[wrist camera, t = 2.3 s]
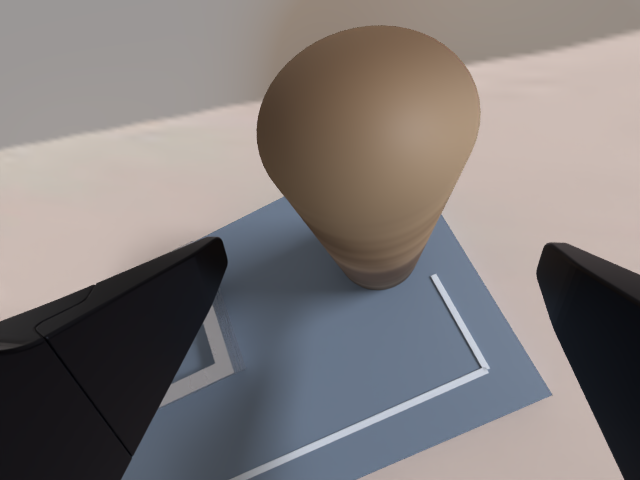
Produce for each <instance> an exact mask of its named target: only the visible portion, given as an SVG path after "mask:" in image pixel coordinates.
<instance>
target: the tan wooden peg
mask: <svg viewBox="0 0 640 480" xmlns="http://www.w3.org/2000/svg"><path fill="white" fill-rule="evenodd" d="M480 112H481V111H480V101H479V96H478V92H477V88H476V85H475V83H474V80H473V78H472V76H471V74H470V72H469V71H468V69H467V68H466V66H465V65H464V63H463V62H462V61H461V60H460V59H459V58H458V56H457V55H456V54H455V53H453V52H452V51H451V50H450V49H449V48H447V47H446V46H445V45H444V44H442V43H440V42H439V41H437V40H436V39H434V38H432V37H430V36H428V35H425V34H423V33H420V32H417V31H414V30H411V29H407V28H401V27H396V26H382V25H381V26H365V27H357V28H353V29H348V30H344V31H341V32H338V33H335V34H332V35H330V36H327V37H325V38H323V39H321V40H319V41H317V42H315V43H314V44H312V45H310V46H309V47H307V48H305V49H304V50H303V51H301V52H300V53H299V54H297V55H296V56H295V57H294V58H293V59H292V60H291V61H289V62H288V63H287V64H286V65H285V67H284V68H283V69H282V70H281V71H280V72H279V73H278V75H277V76H276V77H275V79H274V80H273V82H272V83H271V85H270V87H269V89H268V91H267V92H266V94H265V96H264V99H263V102H262V104H261V107H260V111H259V115H258V121H257V144H258V150H259V154H260V157H261V160H262V163H263V166H264V168H265V169H266V171H267V173H268V175H269V177H270V178H271V180H272V181H273V182H274V184H275V185H276V186H277V188H278V189H279V190H280V191H281V193H282V194H283V195H284V197H285V198H286V199H287V200H288V202H289V203H290V204H291V206H292V207H293V208H294V209H295V211H296V212H297V213H298V214H299V216H300V217H301V218H302V220H303V221H304V222H305V223H306V225H307V226H308V227H309V229H310V230H311V231H312V232H313V234H314V235H315V236H316V238H317V239H318V240H319V241H320V243H321V244H322V245H323V247H324V248H325V249H326V250H327V252H328V253H329V254H330V255H331V257H332V258H333V259H334V261H335V262H336V263H337V264H338V266H339V267H340V268H341V270H342V271H343V272H344V273H345V275H346V276H347V277H348V278H349V279H350V280H351V281H352V282H354V283H355V284H357V285H359V286H361V287H363V288H366V289H370V290H386V289H390V288H392V287H395V286H397V285H399V284H401V283H402V282H403V281H405V280H406V279H407V278H408V277H409V275H410V274H411V273H412V271H413V270H414V268H415V266H416V264H417V262H418V260H419V258H420V256H421V254H422V252H423V250H424V248H425V245H426V243H427V241H428V239H429V237H430V235H431V233H432V231H433V229H434V227H435V225H436V223H437V221H438V219H439V217H440V215H441V213H442V211H443V209H444V207H445V205H446V203H447V201H448V199H449V197H450V195H451V193H452V191H453V189H454V187H455V185H456V183H457V180H458V178H459V176H460V174H461V172H462V170H463V168H464V166H465V164H466V162H467V160H468V158H469V156H470V154H471V152H472V149H473V147H474V144H475V142H476V139H477V135H478V130H479V126H480Z"/></svg>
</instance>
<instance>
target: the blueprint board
mask: <svg viewBox="0 0 640 480" xmlns="http://www.w3.org/2000/svg"><path fill="white" fill-rule="evenodd" d="M209 236H210V237H220V238H221V239H222V241H223V244H224V247H225V251H226V255H227V258H228V266H227V269H226V271H225V274H224V276H223V279H222V282H221V284H220V287H219V288H220V291H221V294H222V297H223V300H224V303H225V306H226V309H227V312H228V315H229V318H230V321H231V324H232V327H233V330H234V333H235V336H236V339H237V342H238V345H239V348H240V351H241V354H242V357H243V360H244V363H245V366H246V369H245V370H243V371H241V372H238V373H236V374H234V375H232V376H230V377H228V378H226V379H223V380H221V381H219V382H217V383H215V384H213V385H211V386H208V387H206V388H204V389H202V390H200V391H198V392H196V393H193V394H191V395H189V396H187V397H185V398H183V399H181V400H178V401H176V402H174V403H172V404H170V405H168V406H166V407H163V408H161V409H159V410H157V412H156V414H155V416H154V418H153V419H152V421H151V423H150V425H149V427H148V429H147V431H146V433H145V435H144V437H143V439H142V440H141V442H140V444H139V446H138V448H137V450H136V452H135V454H134V456H132V460H131V462H130V464H129V466H128V468H127V469H126V471H125V473H124V475H123V477H122V479H121V480H356V479H358V478H361V477H363V476H365V475H368V474H370V473H372V472H375V471H377V470H379V469H381V468H384V467H386V466H388V465H391V464H393V463H395V462H398V461H400V460H402V459H405V458H407V457H409V456H412V455H414V454H416V453H419V452H421V451H423V450H426V449H428V448H430V447H433V446H435V445H437V444H440V443H442V442H444V441H447V440H449V439H451V438H454V437H456V436H458V435H461V434H463V433H465V432H468V431H470V430H472V429H474V428H477V427H479V426H481V425H484V424H486V423H488V422H491V421H493V420H495V419H498V418H500V417H502V416H505V415H507V414H509V413H512V412H514V411H516V410H519V409H521V408H523V407H526V406H528V405H530V404H533V403H535V402H537V401H540V400H542V399H544V398H547V397H549V396H551V395H552V393H551V392H550V390H549V389H548V387H547V385H546V384H545V382H544V380H543V379H542V377H541V376H540V374H539V372H538V371H537V369H536V367H535V366H534V364H533V363H532V361H531V359H530V358H529V356H528V354H527V353H526V351H525V350H524V348H523V346H522V345H521V343H520V341H519V340H518V338H517V337H516V335H515V333H514V332H513V330H512V328H511V327H510V325H509V324H508V322H507V320H506V319H505V317H504V315H503V314H502V312H501V311H500V309H499V307H498V306H497V304H496V302H495V301H494V299H493V298H492V296H491V294H490V293H489V291H488V289H487V288H486V286H485V285H484V283H483V281H482V280H481V278H480V276H479V275H478V273H477V271H476V270H475V268H474V267H473V265H472V263H471V262H470V260H469V258H468V257H467V255H466V254H465V252H464V250H463V249H462V247H461V245H460V244H459V242H458V241H457V239H456V237H455V236H454V234H453V232H452V231H451V229H450V228H449V226H448V224H447V223H446V221H445V219H444V218H443V216H442V215H440V217H439V219H438V221H437V223H436V225H435V227H434V229H433V231H432V233H431V235H430V237H429V239H428V241H427V243H426V245H425V248H424V250H423V252H422V254H421V256H420V258H419V260H418V262H417V264H416V266H415V268H414V270H413V271H412V273H411V274H410V275H409V277H408V278H407V279H406V280H405V281H403V282H402V283H401V284H399V285H397V286H395V287H392V288H390V289H386V290H370V289H366V288H363V287H361V286H359V285H357V284H355V283H354V282H352V281H351V280H350V279H349V278H348V277H347V276H346V275H345V273H344V272H343V271H342V270H341V268H340V267H339V266H338V264H337V263H336V262H335V261H334V259H333V258H332V257H331V255H330V254H329V253H328V252H327V250H326V249H325V248H324V247H323V245H322V244H321V243H320V241H319V240H318V239H317V238H316V236H315V235H314V234H313V232H312V231H311V230H310V229H309V227H308V226H307V225H306V223H305V222H304V221H303V220H302V218H301V217H300V216H299V214H298V213H297V212H296V211H295V209H294V208H293V207H292V206H291V204H290V203H289V202H288V200H287V199H286V198H285V197H282V198H280V199H278V200H276V201H274V202H272V203H270V204H268V205H266V206H264V207H262V208H260V209H258V210H256V211H254V212H252V213H250V214H248V215H246V216H244V217H242V218H240V219H239V220H237V221H235V222H233V223H231V224H229V225H227V226H225V227H223V228H221V229H219V230H217V231H215V232H213V233H211V234H209V235H207V236H205V237H209ZM205 237H203V238H205ZM203 238H201V239H203ZM199 240H200V239H199ZM197 241H198V240H197ZM195 242H196V241H195ZM213 364H215V361H214V357H213V354H212V351H211V347H210V344H209V341H208V338H207V334H206V331H205V328H204V324H202V326H201V328H200V330H199V332H198V334H197V335H196V337H195V339H194V341H193V343H192V345H191V347H190V349H189V351H188V353H187V355H186V356H185V358H184V360H183V362H182V364H181V366H180V368H179V370H178V372H177V374H176V376H175V377H174V379H173V381H172V383H171V384H173V383H175V382H177V381H179V380H181V379H183V378H185V377H188V376H190V375H192V374H194V373H196V372H198V371H200V370H202V369H205V368H207V367H209V366H211V365H213Z"/></svg>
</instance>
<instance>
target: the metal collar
mask: <svg viewBox="0 0 640 480" xmlns="http://www.w3.org/2000/svg"><path fill="white" fill-rule="evenodd" d="M191 243H193V241H191V242H189V243H187V244H185V245H183V246H181V247H184V246H186V245H188V244H191ZM181 247H179V248H181ZM179 248H177V249H179ZM177 249H175V250H177ZM173 251H174V250H173ZM203 324H204V328H205V331H206V334H207V338H208V341H209V344H210V347H211V351H212V354H213V357H214V361H215V364H213V365H211V366H209V367H207V368H205V369H202V370H200V371H198V372H196V373H194V374H192V375H190V376H188V377H185V378H183V379H181V380H179V381H177V382H175V383H173V384H171V385H170V387H169V389H168V391H167V393H166V395H165V397H164V398H163V400H162V402H161V404H160V406H159V408H158V410H159V409H161V408H163V407H166V406H168V405H170V404H172V403H174V402H176V401H178V400H181V399H183V398H185V397H187V396H189V395H191V394H193V393H196V392H198V391H200V390H202V389H204V388H206V387H208V386H211V385H213V384H215V383H217V382H219V381H221V380H223V379H226V378H228V377H230V376H232V375H234V374H236V373H238V372H241V371H243V370H245V369H246V366H245V363H244V360H243V357H242V354H241V351H240V348H239V345H238V342H237V339H236V336H235V333H234V330H233V327H232V324H231V321H230V318H229V315H228V312H227V309H226V306H225V303H224V300H223V297H222V294H221V291H220V288H219V289H218V292H217V294H216V297H215V299H214V302H213V304H212V306H211V308H210V311H209V313H208V314H207V316H206V318H205V320H204V322H203Z"/></svg>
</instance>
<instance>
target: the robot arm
mask: <svg viewBox="0 0 640 480" xmlns="http://www.w3.org/2000/svg"><path fill="white" fill-rule="evenodd" d="M227 266H228V258H227V255H226V251H225V247H224V244H223V241H222V239H221V238H220V237H210V236H209V237H205V238H203V239H200V240H198V241H196V242H193V243H191V244H188V245H186V246H184V247H181V248H179V249H177V250H174V251H172V252H170V253H167V254H165V255H162V256H160V257H158V258H155V259H153V260H151V261H148V262H146V263H144V264H141V265H139V266H136V267H134V268H132V269H129V270H127V271H125V272H122V273H120V274H118V275H115V276H113V277H110V278H108V279H106V280H103V281H101V282H99V283H97V284H96V285H91V286H89V287H87V288H84V289H82V290H80V291H77V292H75V293H72V294H70V295H67V296H65V297H62V298H60V299H58V300H55V301H52V302H50V303H47V304H45V305H42V306H40V307H37V308H34V309H32V310H29V311H26V312H24V313H21V314H19V315H16V316H13V317H11V318H8V319H5V320H3V321H0V480H121V479H122V477H123V475H124V473H125V471H126V469H127V468H128V466H129V464H130V462H131V460H132V456H134V454H135V452H136V450H137V448H138V446H139V444H140V442H141V440H142V439H143V437H144V435H145V433H146V431H147V429H148V427H149V425H150V423H151V421H152V419H153V418H154V416H155V414H156V412H157V410H158V408H159V406H160V404H161V402H162V400H163V398H164V397H165V395H166V393H167V391H168V389H169V387H170V385H171V383H172V381H173V379H174V377H175V376H176V374H177V372H178V370H179V368H180V366H181V364H182V362H183V360H184V358H185V356H186V355H187V353H188V351H189V349H190V347H191V345H192V343H193V341H194V339H195V337H196V335H197V334H198V332H199V330H200V328H201V326H202V324H203V322H204V320H205V318H206V316H207V314H208V313H209V311H210V308H211V306H212V304H213V302H214V299H215V297H216V294H217V292H218V289H219V287H220V284H221V282H222V279H223V276H224V274H225V271H226V269H227ZM536 275H537V280H538V283H539V286H540V289H541V292H542V295H543V299H544V302H545V305H546V308H547V311H548V314H549V317H550V320H551V323H552V326H553V329H554V331H555V333H556V335H557V338H558V340H559V342H560V344H561V346H562V348H563V350H564V352H565V355H566V357H567V359H568V361H569V363H570V365H571V367H572V369H573V372H574V374H575V376H576V378H577V380H578V382H579V384H580V386H581V389H582V391H583V393H584V395H585V397H586V399H587V401H588V403H589V406H590V408H591V410H592V412H593V414H594V416H595V418H596V420H597V423H598V425H599V427H600V429H601V431H602V433H603V435H604V437H605V440H606V442H607V444H608V446H609V448H610V450H611V452H612V454H613V457H614V459H615V461H616V463H617V465H618V467H619V469H620V471H621V474H622V476H623V478H624V480H640V275H639V274H637V273H634V272H632V271H630V270H627V269H625V268H623V267H620V266H618V265H616V264H613V263H611V262H609V261H607V260H604V259H602V258H600V257H597V256H595V255H593V254H590V253H588V252H586V251H583V250H581V249H579V248H576V247H574V246H572V245H569V244H567V243H547V244H546V245H545V246H544V248H543V251H542V254H541V257H540V260H539V264H538V267H537V272H536Z"/></svg>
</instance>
